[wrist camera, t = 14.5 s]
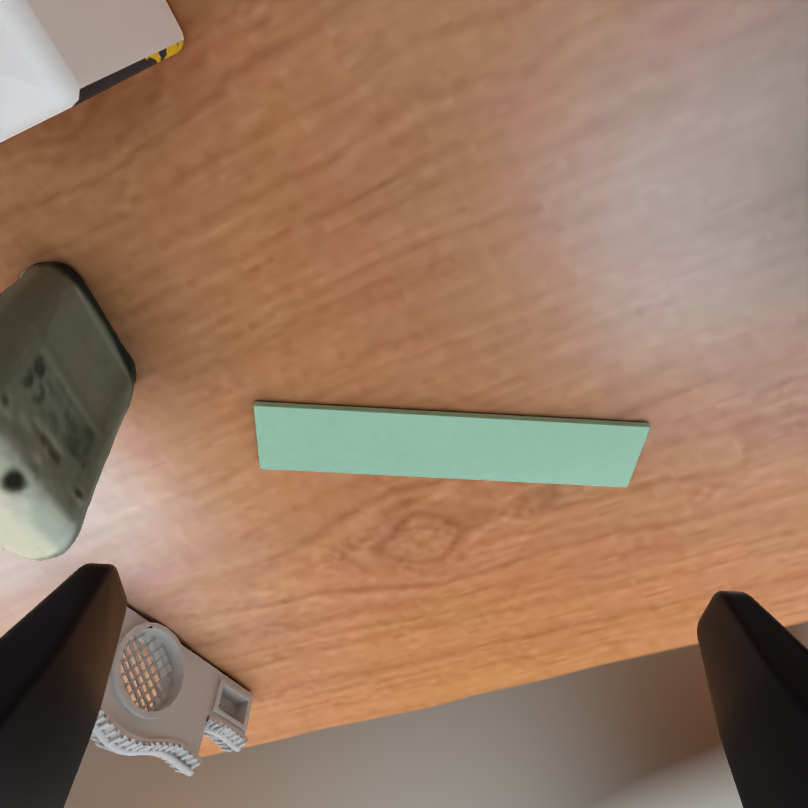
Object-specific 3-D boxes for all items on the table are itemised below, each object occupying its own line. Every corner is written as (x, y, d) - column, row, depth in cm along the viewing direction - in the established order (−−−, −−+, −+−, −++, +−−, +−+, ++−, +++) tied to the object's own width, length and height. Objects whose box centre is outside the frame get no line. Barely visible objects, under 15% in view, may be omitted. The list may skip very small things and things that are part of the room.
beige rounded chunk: (202, 339, 22) (117, 507, 16) (127, 423, 24) (27, 600, 18) (45, 230, 20) (-131, 374, 13) (-22, 334, 22) (-199, 500, 15)
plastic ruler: (648, 422, 24) (651, 427, 24) (625, 482, 26) (627, 487, 26) (254, 400, 24) (253, 405, 23) (260, 464, 25) (259, 469, 25)
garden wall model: (259, 692, 36) (237, 807, 31) (235, 700, 37) (210, 814, 32) (99, 579, 30) (41, 701, 25) (73, 591, 30) (12, 712, 26)
